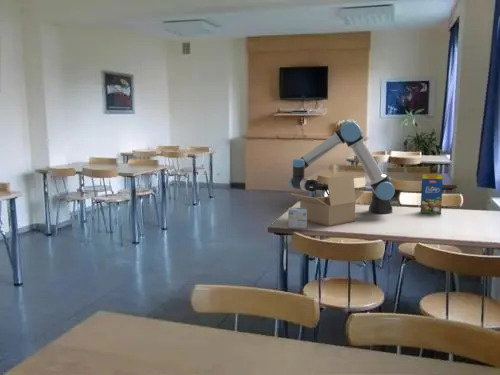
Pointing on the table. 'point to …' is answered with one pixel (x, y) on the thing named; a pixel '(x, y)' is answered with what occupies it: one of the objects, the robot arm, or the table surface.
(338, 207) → the carton
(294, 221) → the light bulb box
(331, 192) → the carton flap
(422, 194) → the blue food package
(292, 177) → the robot arm
